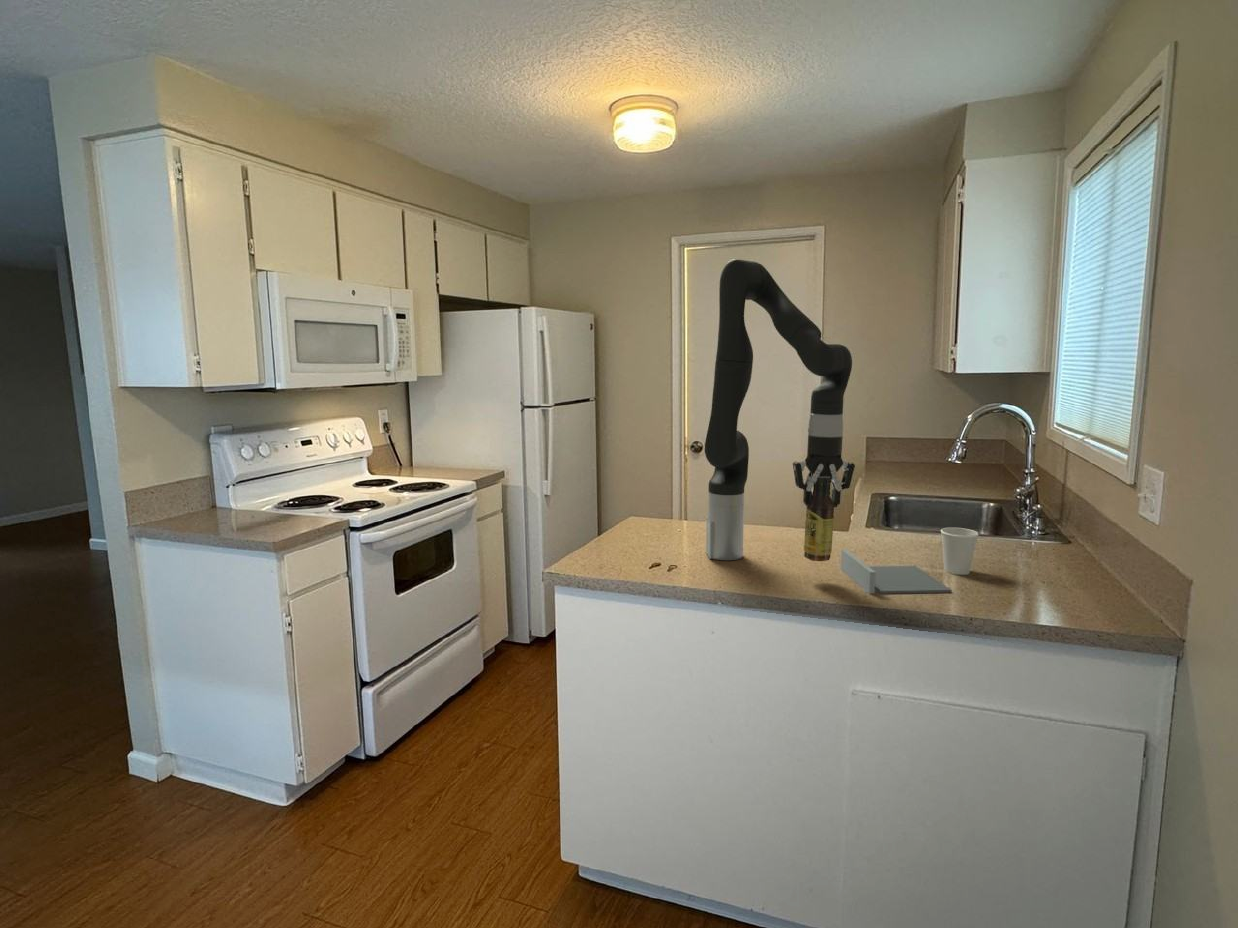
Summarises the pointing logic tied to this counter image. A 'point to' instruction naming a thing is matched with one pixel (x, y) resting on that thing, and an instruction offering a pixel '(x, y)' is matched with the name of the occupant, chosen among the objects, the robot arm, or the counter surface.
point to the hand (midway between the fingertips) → (821, 506)
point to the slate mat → (906, 580)
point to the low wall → (858, 571)
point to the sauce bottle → (819, 522)
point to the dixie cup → (958, 549)
